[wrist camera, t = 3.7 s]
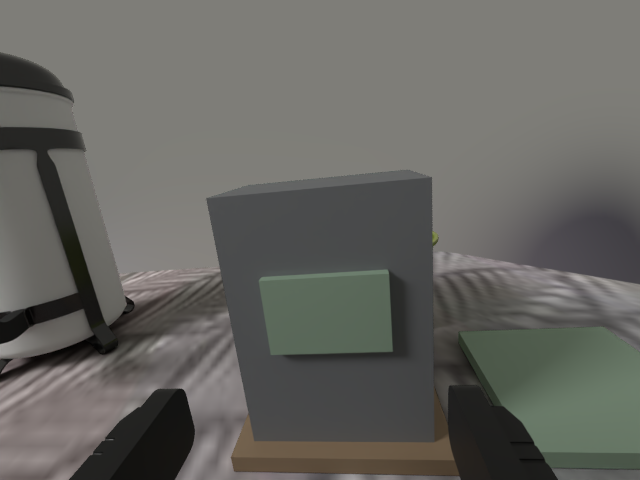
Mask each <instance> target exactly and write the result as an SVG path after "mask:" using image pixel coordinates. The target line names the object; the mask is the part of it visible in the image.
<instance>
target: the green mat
mask: <svg viewBox="0 0 640 480" xmlns="http://www.w3.org/2000/svg"><path fill="white" fill-rule="evenodd" d="M458 342H459V344H460V346H461V348H462V349H463V351H464V353H465V355H466V357H467V358H468V360H469V362H470V364H471V366H472V367H473V369H474V371H475V373H476V374H477V376H478V378H479V380H480V382H481V383H482V385H483V387H484V389H485V391H486V392H487V394H488V396H489V398H490V399H491V401H492V403H493V405H494V406H504V407H505V408H506V409H507V410H508V411H510V412H511V413H512V414H513V415H514V416H515V417H516V418H518V419H519V420H520V421H521V422H522V423H523V425H524V426H525V428H526V430H527V431H528V433H529V434H530V436H531V438H532V439H533V441H534V444H535V446H537V447H538V449H539V450H540V452H541V454H542V455H543V457H544V458H545V462H546V463H548V465H549V466H550V468H594V469H640V352H639V351H637V350H636V349H634V348H633V347H632V346H630V345H629V344H627V343H626V342H624V341H623V340H622V339H620V338H619V337H617V336H616V335H614V334H613V333H611V332H610V331H609V330H607V329H606V328H604V327H578V328H549V329H520V330H491V331H462V332H459V335H458Z"/></svg>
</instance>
